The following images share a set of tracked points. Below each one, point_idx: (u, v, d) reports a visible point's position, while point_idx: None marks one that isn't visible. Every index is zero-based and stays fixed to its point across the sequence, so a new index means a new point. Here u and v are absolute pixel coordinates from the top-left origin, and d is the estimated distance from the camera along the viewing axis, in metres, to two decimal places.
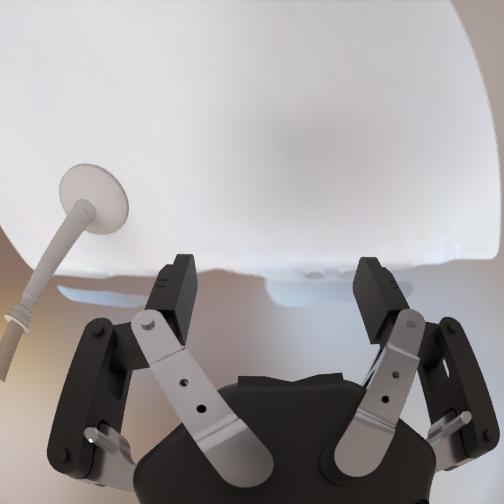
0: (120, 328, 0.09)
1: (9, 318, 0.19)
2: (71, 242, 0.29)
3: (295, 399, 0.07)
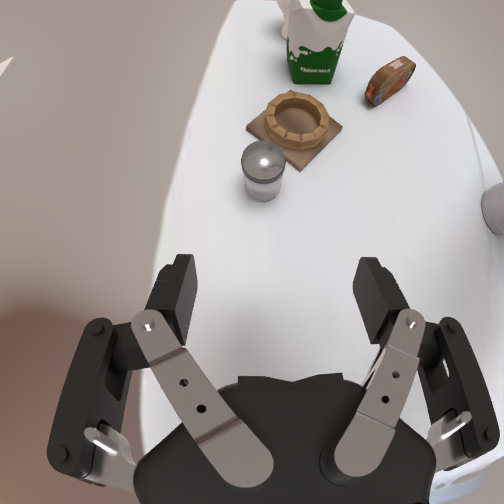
0: (120, 328, 0.09)
1: None
2: None
3: (295, 399, 0.07)
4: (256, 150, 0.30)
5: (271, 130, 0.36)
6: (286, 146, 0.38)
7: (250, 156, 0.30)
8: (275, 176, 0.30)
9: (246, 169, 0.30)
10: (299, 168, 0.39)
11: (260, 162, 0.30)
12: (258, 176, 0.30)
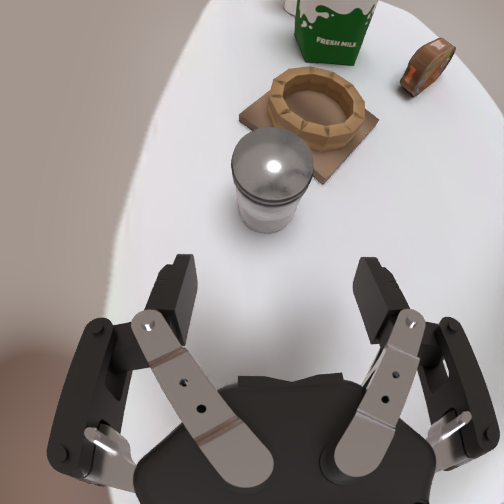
0: (121, 328, 0.09)
1: None
2: None
3: (295, 399, 0.07)
4: (259, 144, 0.16)
5: (279, 118, 0.22)
6: None
7: (248, 155, 0.16)
8: (297, 193, 0.16)
9: (241, 180, 0.16)
10: (323, 179, 0.24)
11: (268, 166, 0.16)
12: (265, 193, 0.16)
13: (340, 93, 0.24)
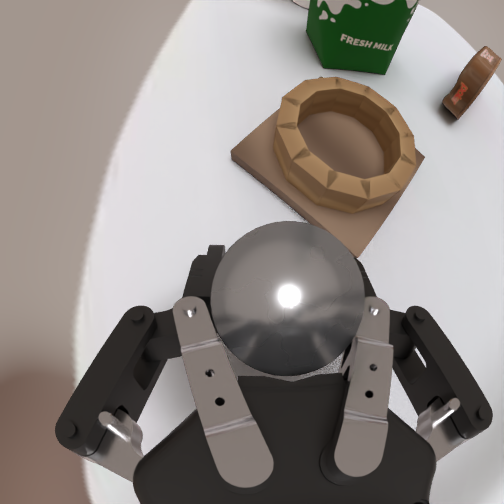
0: (159, 316, 0.09)
1: None
2: None
3: (295, 399, 0.07)
4: (265, 264, 0.09)
5: (293, 165, 0.15)
6: (326, 203, 0.16)
7: (243, 290, 0.08)
8: None
9: (229, 343, 0.08)
10: None
11: (280, 315, 0.08)
12: (273, 371, 0.08)
13: (378, 119, 0.17)
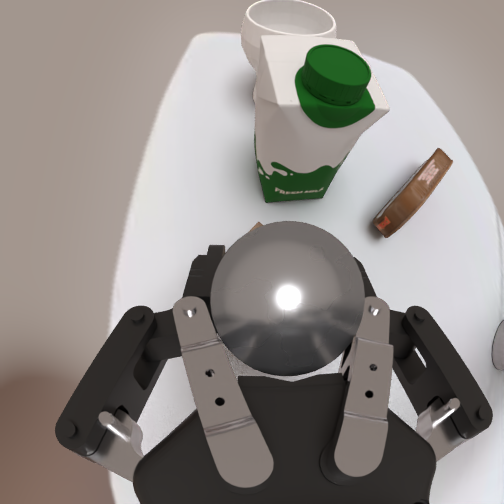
0: (159, 316, 0.09)
1: None
2: None
3: (295, 399, 0.07)
4: (264, 264, 0.09)
5: None
6: None
7: (242, 290, 0.08)
8: None
9: (229, 343, 0.08)
10: None
11: (280, 315, 0.08)
12: (273, 371, 0.08)
13: None
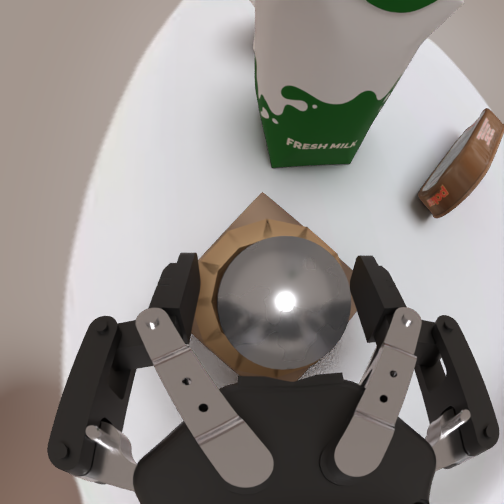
0: (125, 326, 0.09)
1: None
2: None
3: (295, 399, 0.07)
4: (263, 273, 0.10)
5: None
6: None
7: (245, 296, 0.10)
8: None
9: (233, 341, 0.10)
10: None
11: (277, 317, 0.10)
12: (271, 365, 0.09)
13: None
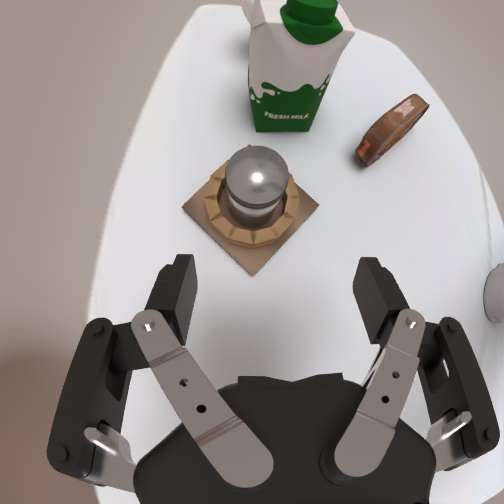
0: (120, 328, 0.09)
1: None
2: None
3: (295, 399, 0.07)
4: (247, 159, 0.21)
5: (211, 222, 0.27)
6: (234, 243, 0.29)
7: (238, 168, 0.21)
8: (274, 199, 0.21)
9: (232, 188, 0.21)
10: (251, 274, 0.29)
11: (253, 178, 0.21)
12: (249, 199, 0.21)
13: None
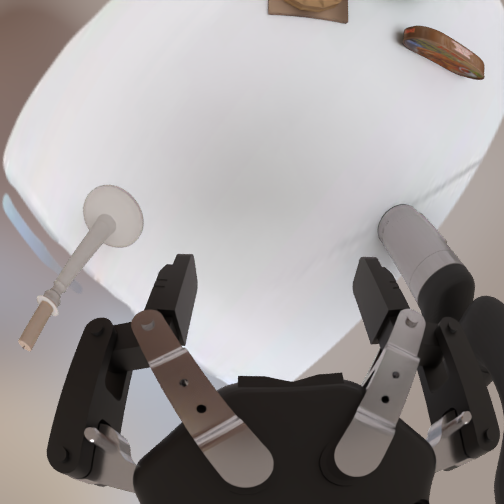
0: (120, 328, 0.09)
1: (48, 301, 0.26)
2: None
3: (295, 399, 0.07)
4: None
5: None
6: None
7: None
8: None
9: None
10: (268, 11, 0.25)
11: None
12: None
13: None
